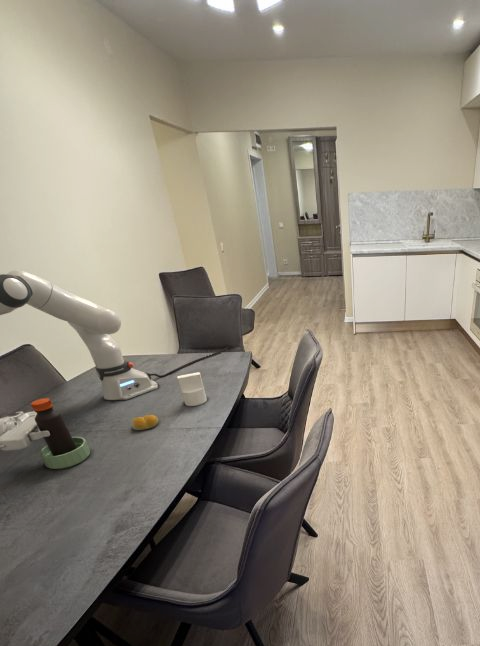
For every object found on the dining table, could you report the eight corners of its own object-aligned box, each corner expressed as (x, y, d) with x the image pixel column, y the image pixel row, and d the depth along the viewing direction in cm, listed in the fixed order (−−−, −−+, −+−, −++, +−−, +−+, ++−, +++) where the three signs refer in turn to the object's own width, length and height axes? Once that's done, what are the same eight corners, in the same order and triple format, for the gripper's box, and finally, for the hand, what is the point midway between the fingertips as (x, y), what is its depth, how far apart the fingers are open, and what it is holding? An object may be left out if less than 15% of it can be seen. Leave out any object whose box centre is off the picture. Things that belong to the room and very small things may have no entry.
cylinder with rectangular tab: (205, 395, 173) (199, 369, 167) (208, 402, 166) (201, 376, 160) (184, 399, 170) (176, 373, 164) (185, 407, 162) (177, 380, 156)
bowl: (86, 444, 139) (80, 432, 136) (95, 458, 131) (89, 445, 128) (43, 459, 131) (36, 447, 129) (50, 475, 123) (43, 461, 121)
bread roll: (160, 426, 149) (157, 416, 147) (135, 433, 145) (131, 423, 143) (157, 418, 155) (154, 409, 153) (132, 424, 151) (129, 415, 149)
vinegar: (59, 451, 132) (33, 398, 122) (81, 448, 134) (57, 395, 124) (51, 462, 127) (22, 407, 117) (74, 459, 128) (47, 404, 118)
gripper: (-19, 440, 112) (34, 433, 114) (20, 409, 130) (65, 404, 132) (-8, 458, 115) (44, 451, 117) (28, 426, 133) (73, 420, 135)
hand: (55, 426), depth 125 cm, fingers closed on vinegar, 7 cm apart
